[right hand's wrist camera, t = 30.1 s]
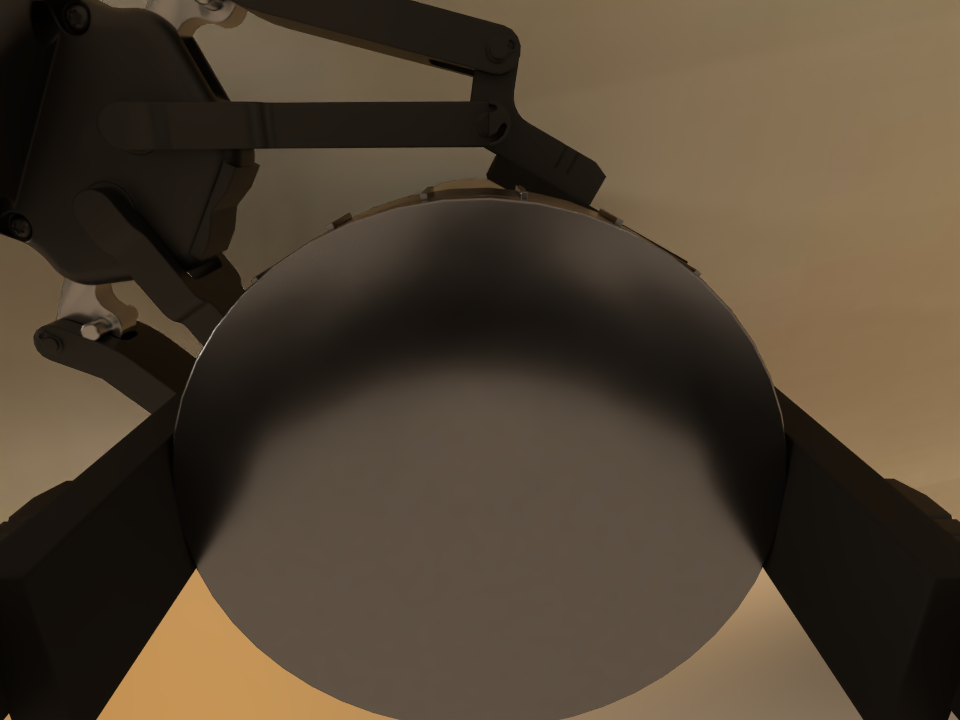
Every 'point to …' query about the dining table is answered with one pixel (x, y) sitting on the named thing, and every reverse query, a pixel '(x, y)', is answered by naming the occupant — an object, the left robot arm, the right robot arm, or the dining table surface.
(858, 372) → the dining table surface
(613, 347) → the lid
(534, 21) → the dining table surface
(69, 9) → the left robot arm
